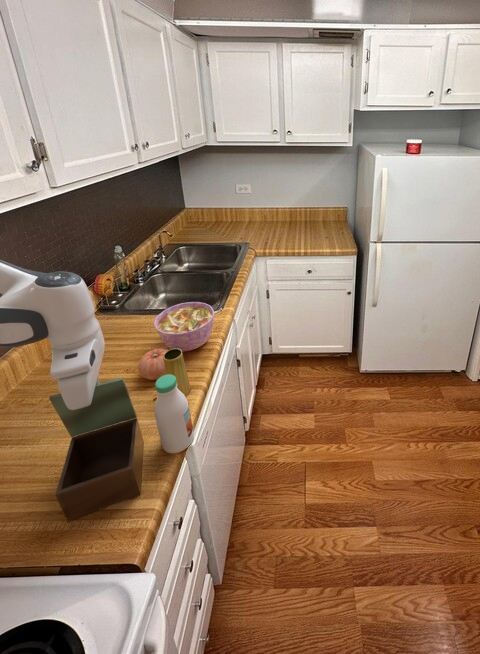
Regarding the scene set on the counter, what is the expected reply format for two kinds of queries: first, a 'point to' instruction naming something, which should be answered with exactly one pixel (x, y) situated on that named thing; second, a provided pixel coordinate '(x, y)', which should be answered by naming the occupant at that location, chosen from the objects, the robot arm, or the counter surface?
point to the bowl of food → (185, 325)
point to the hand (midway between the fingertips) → (95, 392)
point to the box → (101, 469)
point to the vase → (177, 369)
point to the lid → (97, 408)
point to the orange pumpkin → (153, 364)
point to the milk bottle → (172, 415)
